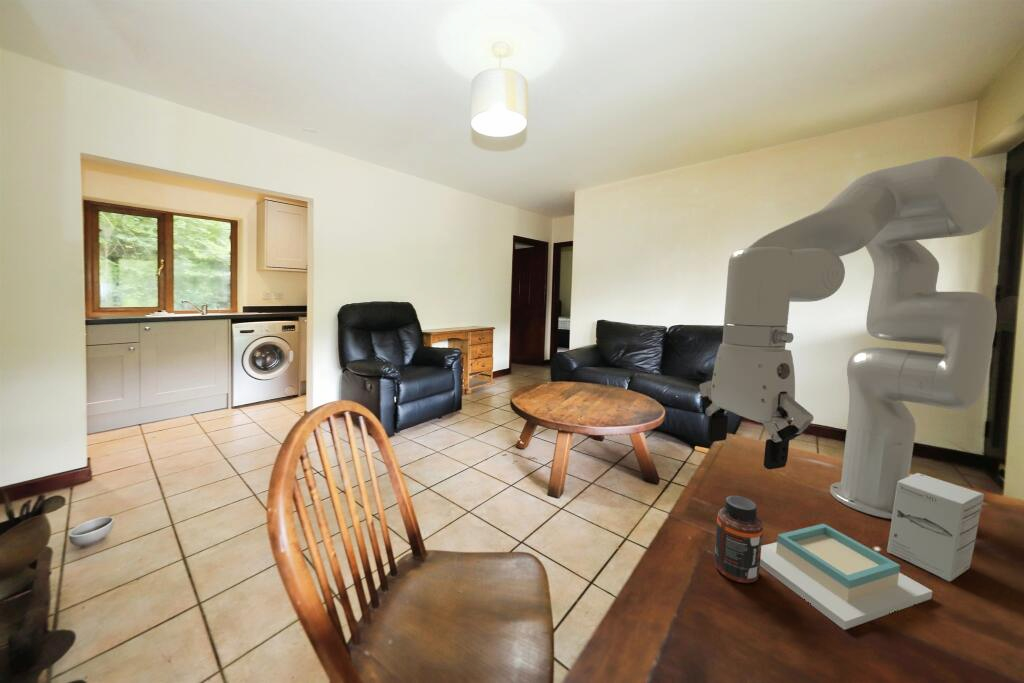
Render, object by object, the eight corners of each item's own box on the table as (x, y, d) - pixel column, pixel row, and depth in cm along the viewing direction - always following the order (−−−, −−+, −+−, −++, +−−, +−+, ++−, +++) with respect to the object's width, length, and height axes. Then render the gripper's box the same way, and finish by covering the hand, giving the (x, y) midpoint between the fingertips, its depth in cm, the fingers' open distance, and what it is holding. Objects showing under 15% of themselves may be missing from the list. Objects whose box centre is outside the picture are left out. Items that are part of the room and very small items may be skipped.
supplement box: (884, 552, 61) (894, 479, 60) (907, 540, 64) (917, 471, 63) (950, 584, 55) (963, 503, 53) (972, 569, 57) (985, 492, 56)
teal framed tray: (823, 536, 65) (825, 513, 65) (931, 598, 52) (935, 569, 51) (747, 556, 61) (749, 531, 60) (844, 629, 47) (848, 598, 47)
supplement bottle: (766, 588, 54) (772, 516, 53) (721, 582, 55) (726, 511, 54) (749, 560, 60) (754, 493, 58) (708, 555, 61) (713, 490, 60)
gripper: (840, 344, 46) (825, 477, 48) (724, 331, 62) (716, 430, 64) (794, 346, 44) (780, 484, 46) (686, 332, 60) (680, 434, 62)
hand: (743, 452), depth 55 cm, fingers open, 9 cm apart
